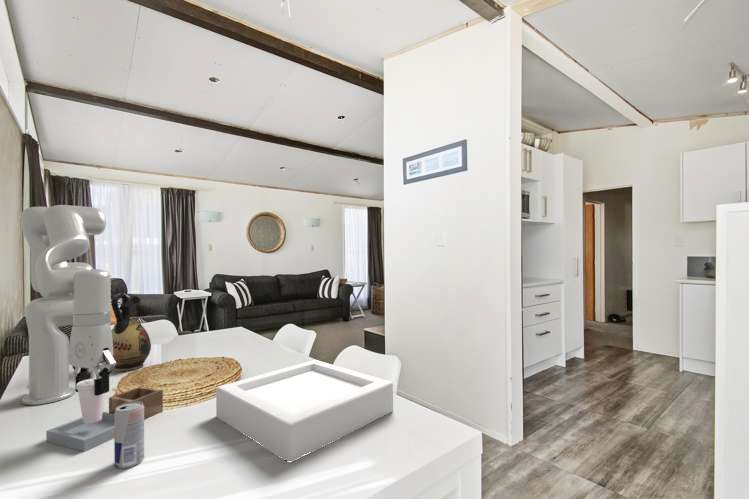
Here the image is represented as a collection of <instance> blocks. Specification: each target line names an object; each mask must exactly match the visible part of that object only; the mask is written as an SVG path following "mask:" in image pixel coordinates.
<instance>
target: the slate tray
mask: <svg viewBox="0 0 749 499" xmlns="http://www.w3.org/2000/svg"><path fill="white" fill-rule="evenodd" d="M45 432H46V436H45V437H46V442H48V443H51V444H56V445H59V446H63V447H66V448H71V449H74V450H77V451H81V452H87V451H89V450H91V449H93V448H96V447H98V446H100V445H102V444H104V443H106V442H108V441H112V440H114V414H111V413H109V412H107V411H103V414H102V419H101V420H100V421H98V422H95V423H90V424H84V423H83V418H82V416H81V417H79V418H76V419H74V420H70V421H69V422H66V423H63V424H61V425H58V426H55V427H53V428H49V429H48V430H46V431H45Z"/></svg>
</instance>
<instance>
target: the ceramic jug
mask: <svg viewBox="0 0 749 499" xmlns="http://www.w3.org/2000/svg"><path fill="white" fill-rule="evenodd" d="M120 300H121V301H122V302H121V304H120V306H119V304H118V303H119V301H120ZM140 303H141V298H140V297H138V296H137V295H133V296H131V297H130V296H128V295H127V294H125V293H116V294H114V295H113V296H112V297H111V308H112V311H113V314H114V317H115V319H116V323H115V324H114V326H113V327H112V328H111V331H112V339H113V359H114V360H115V362H116V365H115V367H114V371H115V372H123V371H132V370H137V369H141V368H143V367H142V366H144V363H145V361H146V360H147V358H148V357H149V356H150V354H151V350H152V343H151V339H150V336H149V333H148V331H147V330H146V329H145V327H144V326H143V325H142V323H140V321H139V320H138V319H137V318H136V317H135V315H133V312H132V309H133V308H134V306H136V305H138V304H140ZM140 367H141V368H140Z"/></svg>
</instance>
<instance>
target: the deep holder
mask: <svg viewBox="0 0 749 499" xmlns="http://www.w3.org/2000/svg"><path fill="white" fill-rule="evenodd" d="M163 392H164V390H163V389H158V388H151V387H147V386H137V387H134V388H132V389H130V390H127V391H124V392H122V393H119V394H115V395H113V396H109V397H108V413H111V414H114V413H115V410H116V408H117V407H118V406H120V405H122V404H125V403H129V402H142V403H143V406H144V421H145V420H147V419H149V418H152V417H153V416H156V415H158V414H160V413H163V412H164V411H163V410H164V403H163V402H164V400H163V398H164V396H163V395H164V393H163Z"/></svg>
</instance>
